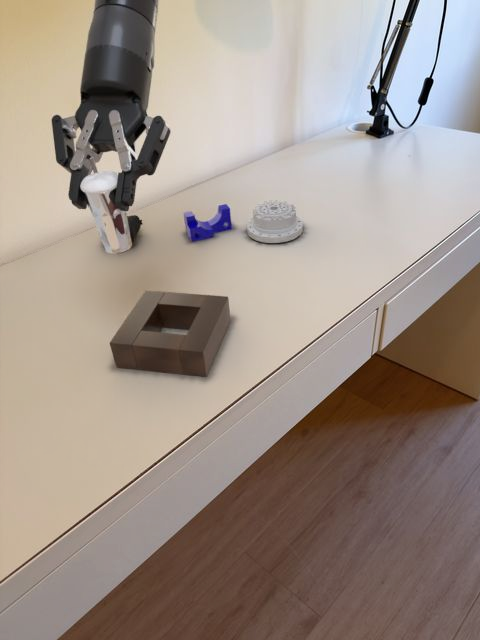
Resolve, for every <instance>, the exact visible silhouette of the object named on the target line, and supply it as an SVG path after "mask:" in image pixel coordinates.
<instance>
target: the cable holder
mask: <svg viewBox="0 0 480 640" xmlns="http://www.w3.org/2000/svg"><path fill="white" fill-rule="evenodd" d="M217 207H218V209H217V213H216V214H215V215H214V216H213V218H211V219H210V220H205V221H200V220H198V219H197V218H196V217H195V214H194V213H193V211H192V210H191V211H185V212H183V220H184V226H185V233H186V235H187V237H188V239H189V240H190V242H191V243H193V242H197V241H201V240H207V239H211V238H214V233H220V232H224V231H228V230H232V229H233V227H232V216H231V215H232V214H231V208H230V207H229V205H228V204H227V203H224V204H220V205H218V206H217Z"/></svg>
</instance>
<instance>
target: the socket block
mask: <svg viewBox="0 0 480 640" xmlns="http://www.w3.org/2000/svg"><path fill="white" fill-rule="evenodd" d="M229 301H230V300H229V296H227V295H214V294H213V295H212V294H201V293H188V292H187V293H186V292H173V291H161V290H160V291H159V290H158V291H157V290H146V289H145V290H144V292H143V293H142V294H141V296H140V297H139V299H138V300H137V302H136V304H135V305H133V307H132V309H131V311H130V312H129V314H128V315H127V317H126V318H125V319H124V321H123V322H122V324H121V325H120V327H119V328H118V330H117V331H116V333H115V334H114V335H113V337H112V339H110V341H109V346H110V351H111V353H112V357H113V360H114V363H115V367H116V368H119V369H129V370H138V371H147V372H155V373H164V374H165V373H166V374H174V375H184V376H194V377H202V378H207V377H208V375H209V373H210V370H211V367H212V365H213V363H214V360H215V358H216V356H217V353H218V351H219V349H220V347H221V344H222V342H223V339H224V337H225V334H226V332H227V330H228V328H229V326H230V322H231V321H232V320H231V311H230V302H229ZM163 328H164V329H177V330H185V331H186V330H187V331H188V332H187V334H184V333H183V334H181V333H172V332H171V333H170V332H162V330H163Z"/></svg>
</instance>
